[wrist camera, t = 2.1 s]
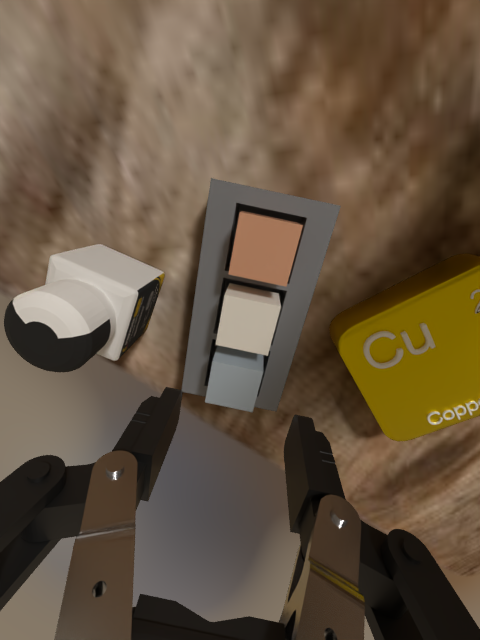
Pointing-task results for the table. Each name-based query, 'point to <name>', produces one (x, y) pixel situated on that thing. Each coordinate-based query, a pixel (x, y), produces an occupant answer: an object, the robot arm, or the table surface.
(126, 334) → the medicine bottle
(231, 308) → the ivory key
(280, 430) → the table surface
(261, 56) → the table surface
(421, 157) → the table surface
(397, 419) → the element tile
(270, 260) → the terracotta key
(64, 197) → the table surface
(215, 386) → the slate key
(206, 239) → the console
